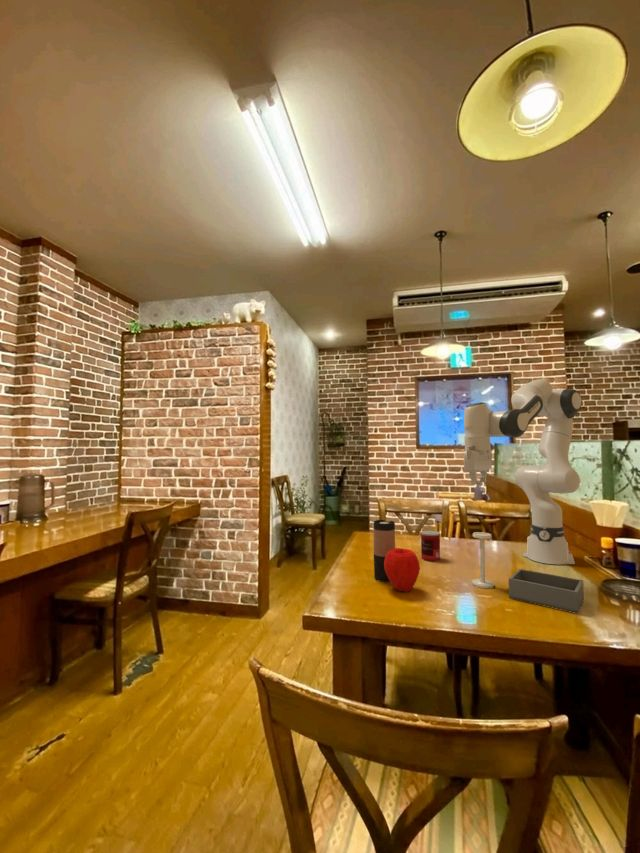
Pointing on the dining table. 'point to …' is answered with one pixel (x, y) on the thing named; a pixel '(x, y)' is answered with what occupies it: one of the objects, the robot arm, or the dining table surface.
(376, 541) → the travel mug
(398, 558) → the apple
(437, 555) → the canned food
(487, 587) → the pedestal dish
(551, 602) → the tray
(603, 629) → the dining table surface
